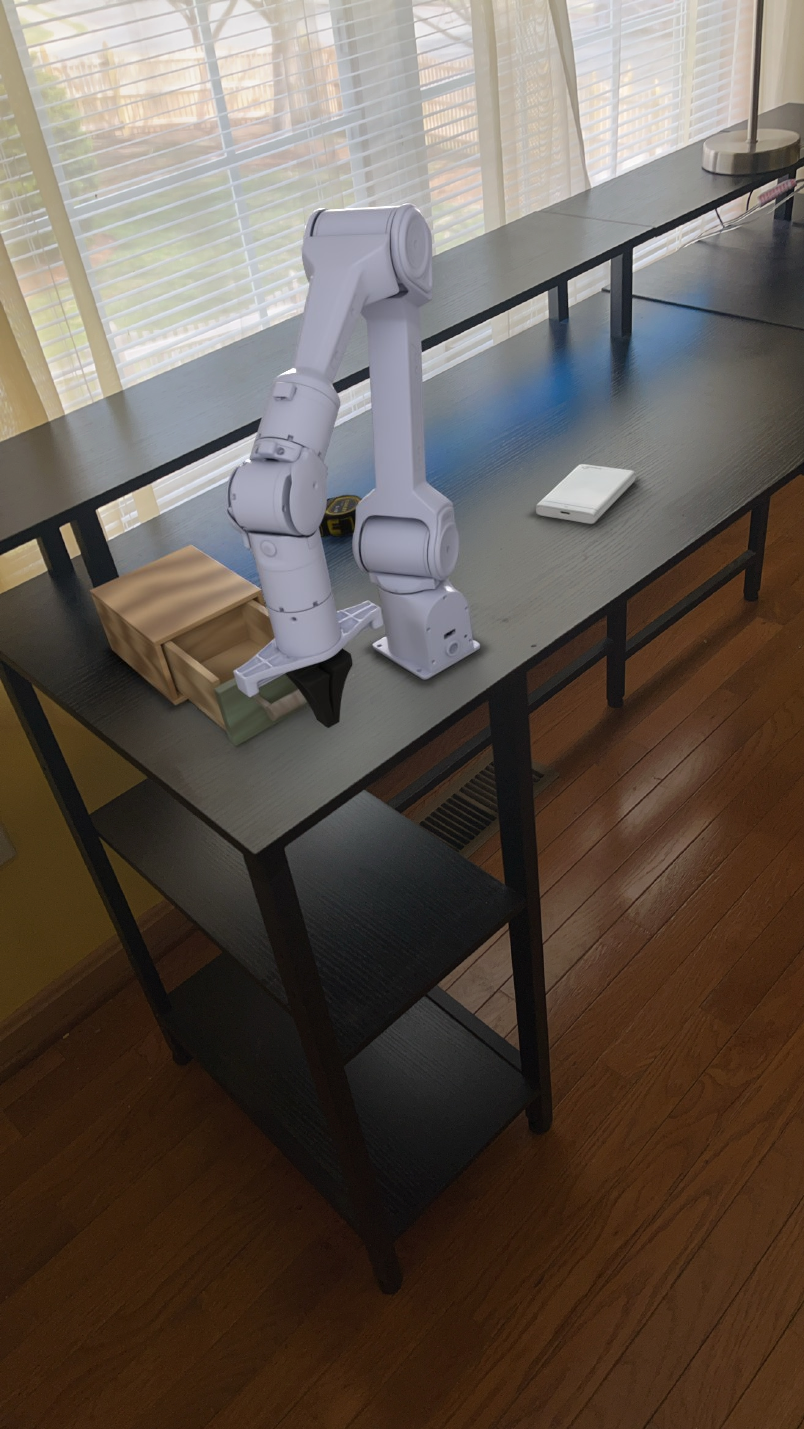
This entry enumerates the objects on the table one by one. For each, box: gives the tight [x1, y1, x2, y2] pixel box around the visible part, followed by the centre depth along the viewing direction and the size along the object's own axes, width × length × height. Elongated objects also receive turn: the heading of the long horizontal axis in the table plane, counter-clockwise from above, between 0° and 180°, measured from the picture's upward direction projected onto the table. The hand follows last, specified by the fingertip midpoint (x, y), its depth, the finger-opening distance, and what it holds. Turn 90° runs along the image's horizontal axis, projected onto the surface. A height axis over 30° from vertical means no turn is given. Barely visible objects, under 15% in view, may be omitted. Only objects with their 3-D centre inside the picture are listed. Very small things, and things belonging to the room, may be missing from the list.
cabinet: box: [89, 544, 267, 706], centre depth 116 cm, size 16×13×8 cm
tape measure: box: [319, 494, 363, 539], centre depth 136 cm, size 7×7×4 cm
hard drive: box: [535, 463, 636, 525], centre depth 134 cm, size 2×8×12 cm
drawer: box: [160, 599, 309, 747], centre depth 106 cm, size 20×12×7 cm, turn 39°
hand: (328, 720), depth 96 cm, fingers closed
